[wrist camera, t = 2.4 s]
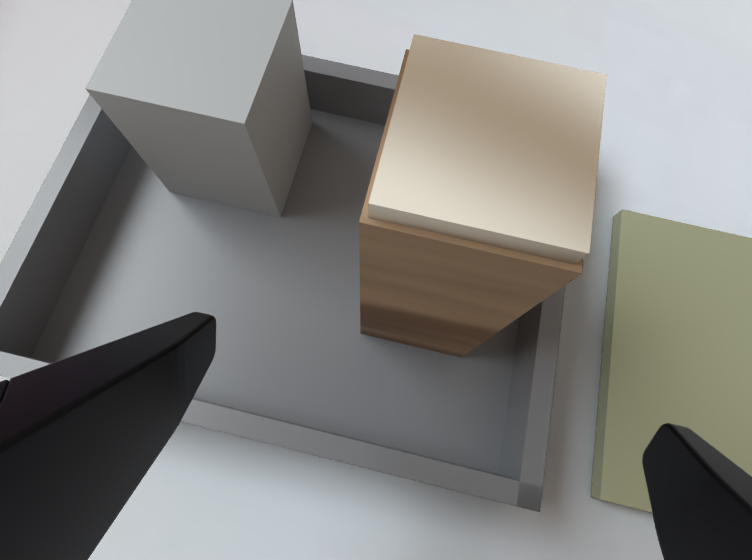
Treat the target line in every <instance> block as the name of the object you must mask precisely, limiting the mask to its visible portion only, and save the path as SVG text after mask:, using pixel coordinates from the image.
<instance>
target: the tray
mask: <svg viewBox="0 0 752 560" xmlns="http://www.w3.org/2000/svg"><path fill="white" fill-rule="evenodd" d="M302 61H303V68H304V74H305V80H306V86H307V92H308V99H309V105H310V111H311V117H312V125H311V128H310V131H309V134H308V137H307V140H306V143H305V146H304V149H303V152H302V155H301V158H300V161H299V164H298V167H297V170H296V173H295V176H294V179H293V182H292V185H291V188H290V191H289V194H288V197H287V200H286V203H285V206H284V209H283V212H282V215H281V217H276V216H272V215H268V214H263V213H259V212H255V211H250V210H246V209H242V208H237V207H233V206H229V205H224V204H220V203H216V202H211V201H207V200H203V199H198V198H194V197H190V196H185V195H181V194H177V193H172V192H169V191H168V189H167V188H166V187H165V186H164V184H163V183H162V182H161V181H160V179H159V178H158V177H157V176H156V175H155V173H154V172H153V171H152V170H151V168H150V167H149V166H148V165H147V164H146V162H145V161H144V160H143V159H142V157H141V156H140V155H139V154H138V153H137V151H136V150H135V149H134V148H133V146H132V145H131V144H130V143H129V141H128V140H127V139H126V138H125V137H124V135H123V134H122V133H121V132H120V130H119V129H118V128H117V127H116V126H115V124H114V123H113V122H112V121H111V119H110V118H109V117H108V116H107V115H106V113H105V112H104V111H103V110H102V108H101V107H100V106H99V105H98V103H97V102H96V101H95V100H94V99H93V97H92V96H91V95H89V97H88V99H87V101H86V103H85V104H84V106H83V108H82V110H81V112H80V114H79V116H78V118H77V120H76V122H75V123H74V125H73V127H72V129H71V131H70V133H69V135H68V137H67V139H66V141H65V142H64V144H63V146H62V148H61V150H60V152H59V154H58V156H57V158H56V160H55V161H54V163H53V165H52V167H51V169H50V171H49V173H48V175H47V177H46V178H45V180H44V182H43V184H42V186H41V188H40V190H39V192H38V194H37V196H36V197H35V199H34V201H33V203H32V205H31V207H30V209H29V211H28V213H27V215H26V216H25V218H24V220H23V222H22V224H21V226H20V228H19V230H18V232H17V233H16V235H15V237H14V239H13V241H12V243H11V245H10V247H9V249H8V251H7V252H6V254H5V256H4V258H3V260H2V262H1V264H0V376H4V377H8V378H13V377H15V376H18V375H21V374H23V373H26V372H29V371H32V370H34V369H37V368H40V367H43V366H46V365H48V364H51V363H54V362H57V361H59V360H62V359H65V358H68V357H70V356H73V355H76V354H79V353H82V352H84V351H87V350H90V349H93V348H95V347H98V346H101V345H104V344H106V343H109V342H112V341H115V340H117V339H120V338H123V337H126V336H128V335H131V334H134V333H137V332H140V331H142V330H145V329H148V328H151V327H153V326H156V325H159V324H162V323H164V322H167V321H170V320H173V319H175V318H178V317H181V316H184V315H186V314H189V313H192V312H201V313H205V314H209V315H213V316H214V317H215V318H216V351H215V356H214V358H213V361H212V363H211V365H210V367H209V369H208V370H207V372H206V374H205V376H204V378H203V380H202V382H201V384H200V386H199V388H198V390H197V391H196V393H195V395H194V397H193V399H192V401H191V403H190V405H189V407H188V409H187V411H186V413H185V414H184V416H183V418H182V420H181V421H182V422H186V423H190V424H194V425H198V426H202V427H206V428H210V429H213V430H217V431H221V432H225V433H229V434H233V435H237V436H241V437H245V438H249V439H253V440H257V441H261V442H265V443H269V444H273V445H277V446H281V447H285V448H289V449H293V450H296V451H300V452H304V453H308V454H312V455H316V456H320V457H324V458H328V459H332V460H336V461H340V462H344V463H348V464H352V465H356V466H360V467H364V468H368V469H372V470H376V471H380V472H383V473H387V474H391V475H395V476H399V477H403V478H407V479H411V480H415V481H419V482H423V483H427V484H431V485H435V486H439V487H443V488H447V489H451V490H455V491H459V492H463V493H466V494H470V495H474V496H478V497H482V498H486V499H490V500H494V501H498V502H502V503H506V504H510V505H514V506H518V507H522V508H526V509H530V510H534V511H538V512H540V507H541V498H542V489H543V480H544V471H545V462H546V453H547V444H548V435H549V426H550V417H551V408H552V399H553V390H554V381H555V373H556V364H557V355H558V346H559V337H560V328H561V319H562V310H563V301H564V292H565V285H564V286H563V287H562V288H560V289H559V290H557V291H556V292H554V293H553V294H552V295H550V296H549V297H547V298H546V299H544V300H543V301H542V302H540V303H539V304H537V305H536V306H534V307H533V308H532V309H530V310H529V311H527V312H526V313H524V314H523V315H522V316H520V317H519V318H517V319H516V320H514V321H513V322H512V323H510V324H509V325H507V326H506V327H504V328H503V329H502V330H500V331H499V332H497V333H496V334H495V335H493V336H492V337H490V338H489V339H487V340H486V341H485V342H483V343H482V344H480V345H479V346H477V347H476V348H475V349H473V350H472V351H470V352H469V353H467V354H466V355H465V356H463V357H462V358H460V357H456V356H452V355H448V354H444V353H439V352H435V351H431V350H427V349H423V348H419V347H414V346H410V345H406V344H402V343H398V342H394V341H389V340H385V339H381V338H377V337H373V336H369V335H364V334H360V264H359V220H360V216H361V213H362V209H363V205H364V202H365V198H366V194H367V191H368V187H369V183H370V180H371V176H372V172H373V169H374V165H375V161H376V158H377V154H378V150H379V147H380V143H381V139H382V136H383V132H384V128H385V125H386V121H387V117H388V114H389V110H390V106H391V103H392V99H393V95H394V92H395V88H396V85H397V81H398V77H399V76H398V75H394V74H389V73H384V72H380V71H375V70H370V69H366V68H361V67H356V66H352V65H347V64H342V63H337V62H333V61H328V60H323V59H319V58H314V57H309V56H305V55H302Z"/></svg>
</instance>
